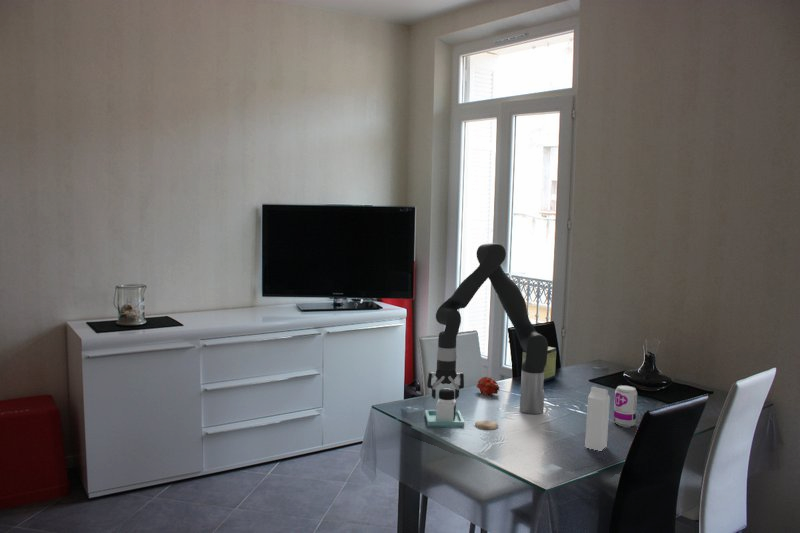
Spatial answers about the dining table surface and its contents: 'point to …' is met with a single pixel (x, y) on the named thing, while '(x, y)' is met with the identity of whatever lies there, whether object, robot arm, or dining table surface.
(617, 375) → the dining table surface
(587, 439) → the milk
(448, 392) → the medicine bottle
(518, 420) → the dining table surface
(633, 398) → the supplement can
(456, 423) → the tray
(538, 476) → the dining table surface
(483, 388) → the dragon fruit
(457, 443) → the dining table surface
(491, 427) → the cork coaster
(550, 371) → the protein box
